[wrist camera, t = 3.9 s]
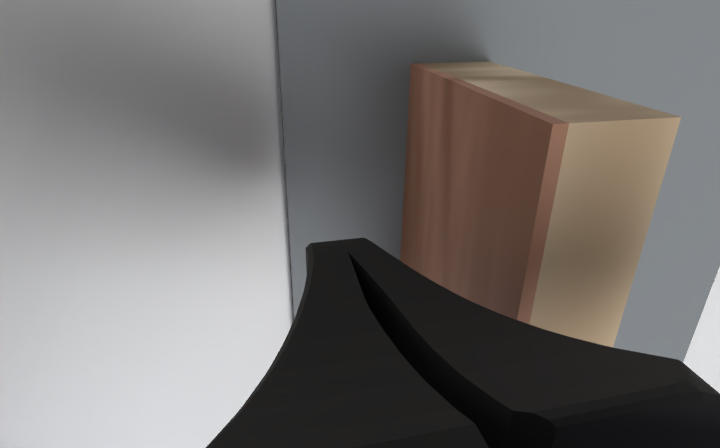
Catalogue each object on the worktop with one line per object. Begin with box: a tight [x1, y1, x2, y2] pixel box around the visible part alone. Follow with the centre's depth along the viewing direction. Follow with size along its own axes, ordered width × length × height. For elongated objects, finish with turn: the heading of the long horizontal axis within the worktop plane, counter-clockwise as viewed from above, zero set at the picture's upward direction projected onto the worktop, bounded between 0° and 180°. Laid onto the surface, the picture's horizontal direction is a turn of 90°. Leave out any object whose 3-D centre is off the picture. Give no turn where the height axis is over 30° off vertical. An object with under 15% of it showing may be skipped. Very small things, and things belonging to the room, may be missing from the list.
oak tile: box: [400, 62, 681, 347], centre depth 13 cm, size 2×8×7 cm, turn 179°
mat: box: [276, 0, 720, 363], centre depth 18 cm, size 18×18×1 cm
